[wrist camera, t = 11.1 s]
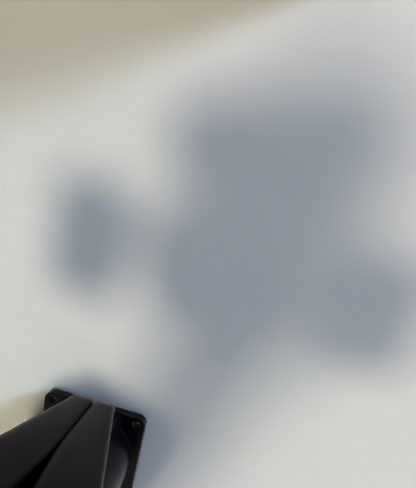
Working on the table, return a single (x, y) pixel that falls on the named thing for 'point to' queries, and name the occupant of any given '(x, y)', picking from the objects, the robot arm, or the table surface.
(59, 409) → the robot arm
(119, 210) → the table surface
